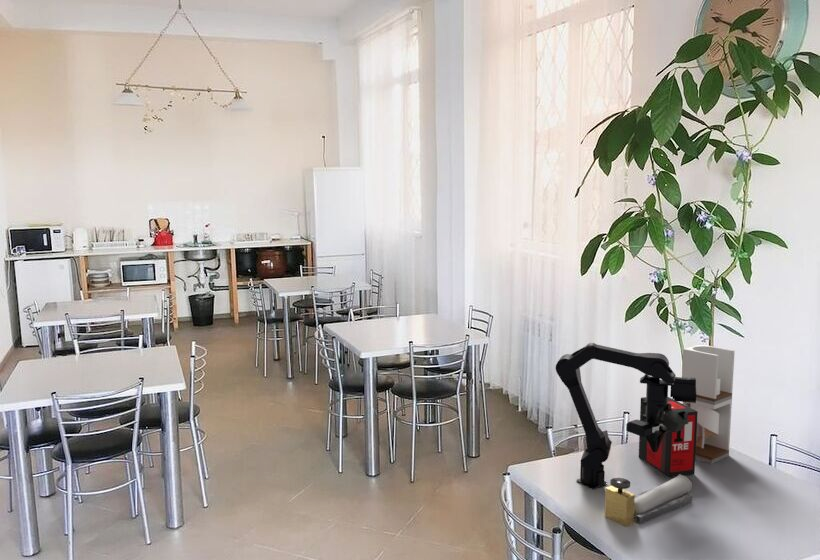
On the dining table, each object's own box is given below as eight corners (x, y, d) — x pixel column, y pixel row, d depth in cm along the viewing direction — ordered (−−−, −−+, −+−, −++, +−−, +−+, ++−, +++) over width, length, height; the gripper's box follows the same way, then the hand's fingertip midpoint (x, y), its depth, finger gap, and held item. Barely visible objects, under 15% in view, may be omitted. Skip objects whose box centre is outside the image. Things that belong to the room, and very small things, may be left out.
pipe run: (599, 515, 186) (600, 477, 185) (663, 491, 201) (665, 455, 200) (626, 529, 179) (628, 490, 177) (692, 503, 193) (693, 466, 192)
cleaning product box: (638, 457, 226) (640, 397, 223) (663, 454, 228) (665, 395, 226) (668, 477, 210) (671, 413, 208) (694, 474, 212) (697, 411, 210)
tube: (644, 509, 182) (694, 482, 198) (627, 496, 186) (678, 470, 201) (638, 524, 184) (688, 497, 200) (621, 511, 188) (672, 485, 203)
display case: (678, 453, 229) (683, 349, 225) (696, 445, 236) (701, 344, 231) (711, 463, 220) (716, 355, 216) (728, 455, 227) (734, 350, 222)
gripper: (659, 412, 185) (657, 468, 187) (702, 400, 195) (700, 453, 197) (625, 402, 194) (624, 455, 197) (668, 390, 205) (666, 441, 207)
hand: (654, 451), depth 199 cm, fingers closed
